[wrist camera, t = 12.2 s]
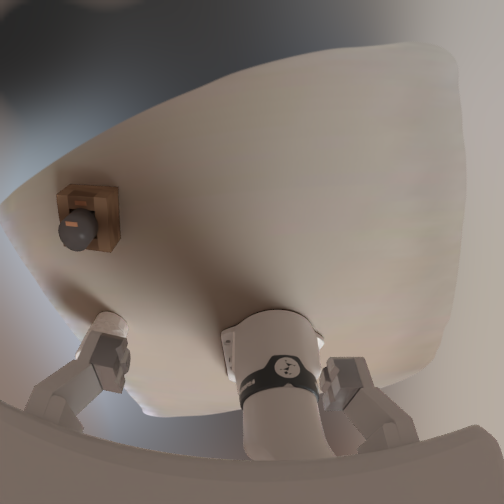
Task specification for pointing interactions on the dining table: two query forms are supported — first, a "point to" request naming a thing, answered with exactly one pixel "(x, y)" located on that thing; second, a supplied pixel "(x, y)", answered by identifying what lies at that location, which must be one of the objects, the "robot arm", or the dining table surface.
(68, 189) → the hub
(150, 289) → the dining table surface
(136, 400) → the dining table surface
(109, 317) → the white cup
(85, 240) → the knob
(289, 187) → the dining table surface
